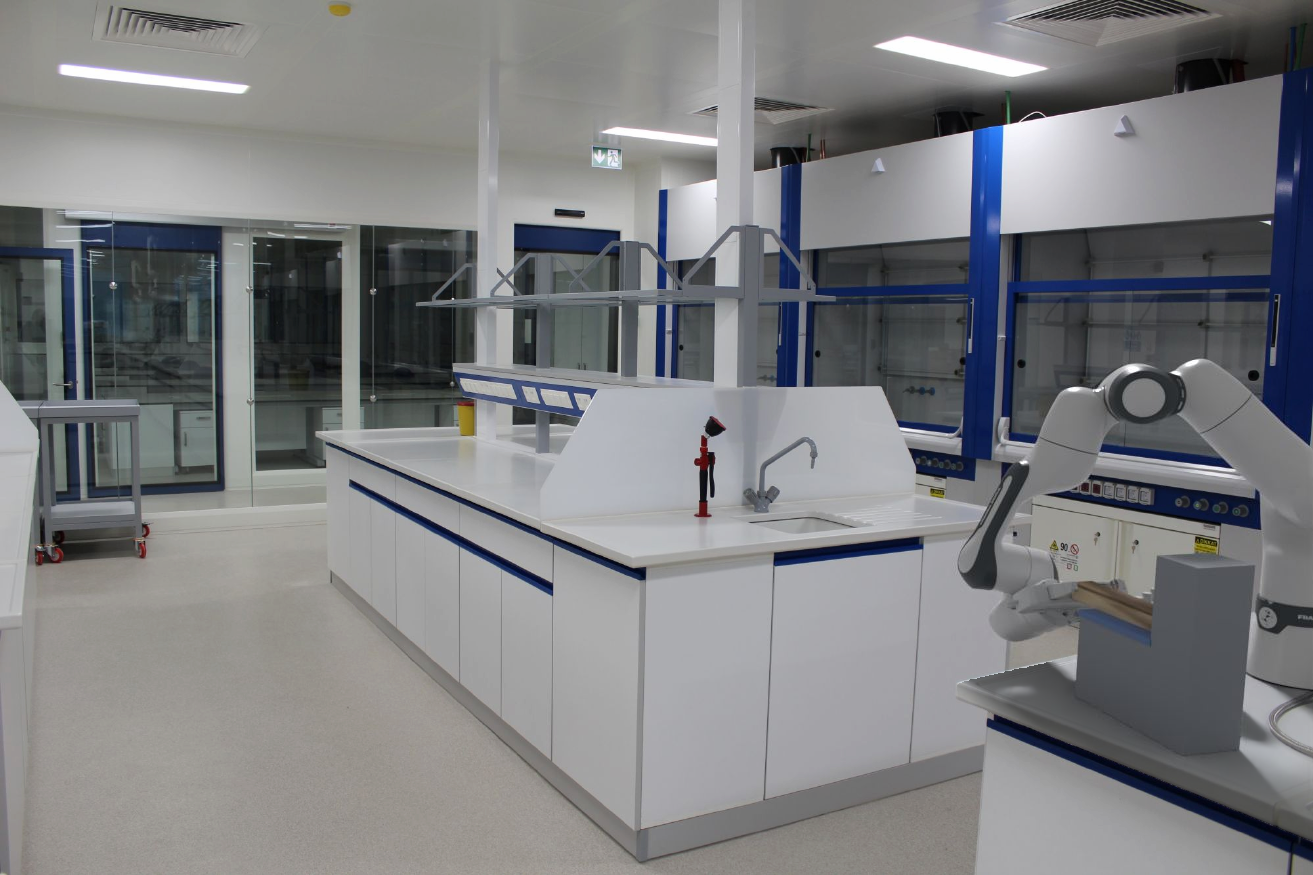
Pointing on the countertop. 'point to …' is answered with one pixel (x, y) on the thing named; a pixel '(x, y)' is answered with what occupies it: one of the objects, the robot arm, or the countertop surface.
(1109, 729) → the countertop surface
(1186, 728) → the l-shaped step block
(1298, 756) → the countertop surface
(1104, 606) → the slide box
